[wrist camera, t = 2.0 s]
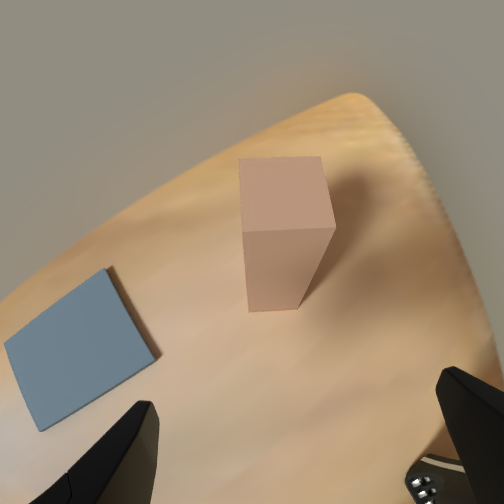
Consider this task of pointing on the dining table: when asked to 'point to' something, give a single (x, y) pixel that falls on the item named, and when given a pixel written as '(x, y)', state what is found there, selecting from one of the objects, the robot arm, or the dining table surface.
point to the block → (283, 228)
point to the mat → (76, 351)
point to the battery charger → (439, 482)
